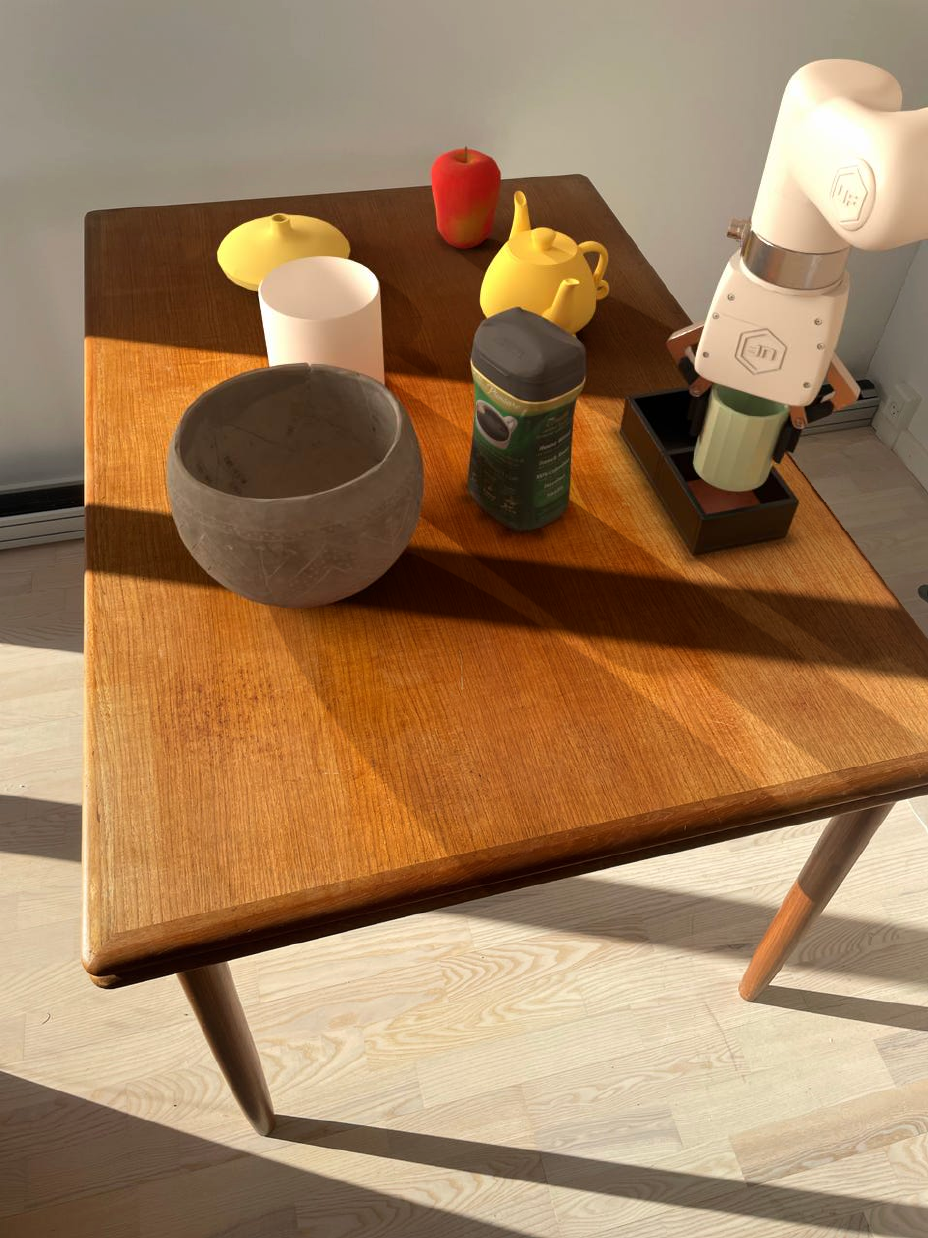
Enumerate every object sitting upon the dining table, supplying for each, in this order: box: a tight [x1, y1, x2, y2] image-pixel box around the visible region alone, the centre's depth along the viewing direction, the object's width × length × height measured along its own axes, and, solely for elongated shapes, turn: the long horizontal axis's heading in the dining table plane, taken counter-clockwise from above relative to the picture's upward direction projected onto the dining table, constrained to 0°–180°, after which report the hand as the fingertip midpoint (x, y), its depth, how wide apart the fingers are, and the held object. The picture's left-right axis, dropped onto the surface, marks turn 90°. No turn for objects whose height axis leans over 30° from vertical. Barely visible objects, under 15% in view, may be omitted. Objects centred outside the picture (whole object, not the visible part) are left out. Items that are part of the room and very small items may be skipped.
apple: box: [430, 145, 502, 250], centre depth 119 cm, size 9×8×12 cm
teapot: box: [479, 190, 610, 339], centre depth 107 cm, size 20×15×12 cm
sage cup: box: [693, 383, 790, 492], centre depth 84 cm, size 7×7×8 cm
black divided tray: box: [619, 385, 800, 557], centre depth 93 cm, size 18×9×5 cm, turn 16°
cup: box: [258, 256, 386, 387], centre depth 98 cm, size 12×12×12 cm
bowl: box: [166, 363, 425, 609], centre depth 81 cm, size 21×21×15 cm
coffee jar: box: [467, 307, 587, 532], centre depth 85 cm, size 10×8×19 cm
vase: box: [216, 212, 351, 293], centre depth 115 cm, size 16×16×7 cm
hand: (739, 439), depth 85 cm, fingers closed on sage cup, 6 cm apart
